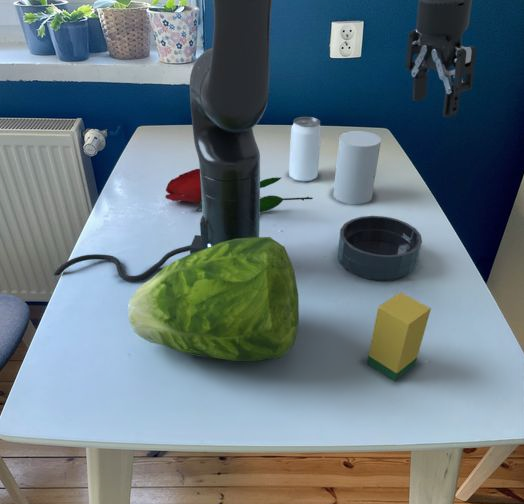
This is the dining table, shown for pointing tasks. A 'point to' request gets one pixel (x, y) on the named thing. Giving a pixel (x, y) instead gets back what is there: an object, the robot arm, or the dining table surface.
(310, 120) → the can
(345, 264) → the bowl
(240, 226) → the robot arm
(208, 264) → the lettuce
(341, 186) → the light grey cylinder
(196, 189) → the flower
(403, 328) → the sponge
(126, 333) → the dining table surface
